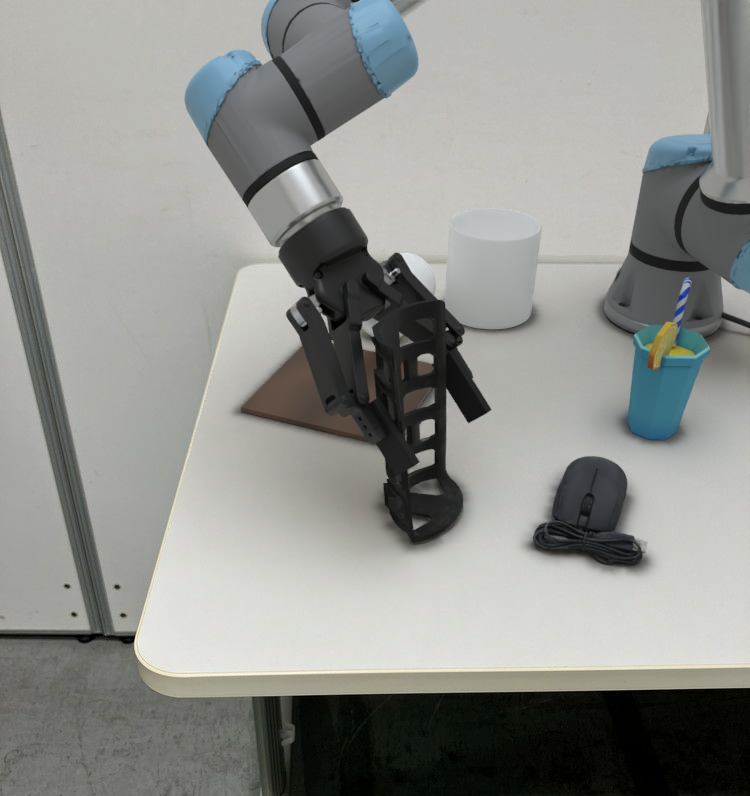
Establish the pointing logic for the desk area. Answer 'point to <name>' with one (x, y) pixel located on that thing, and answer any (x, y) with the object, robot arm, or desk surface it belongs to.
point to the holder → (416, 418)
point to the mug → (420, 271)
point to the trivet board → (317, 397)
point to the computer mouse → (591, 513)
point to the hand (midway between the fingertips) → (445, 441)
